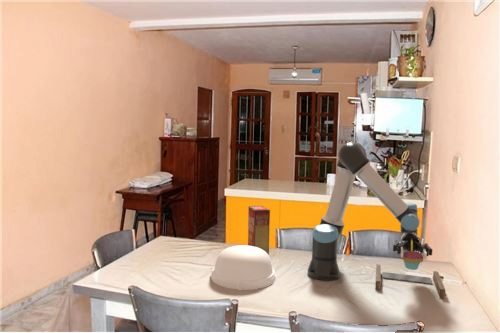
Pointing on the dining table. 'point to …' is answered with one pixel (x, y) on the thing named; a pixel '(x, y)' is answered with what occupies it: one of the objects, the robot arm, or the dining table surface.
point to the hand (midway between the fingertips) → (413, 255)
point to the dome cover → (243, 268)
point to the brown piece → (411, 280)
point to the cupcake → (412, 258)
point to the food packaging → (259, 227)
